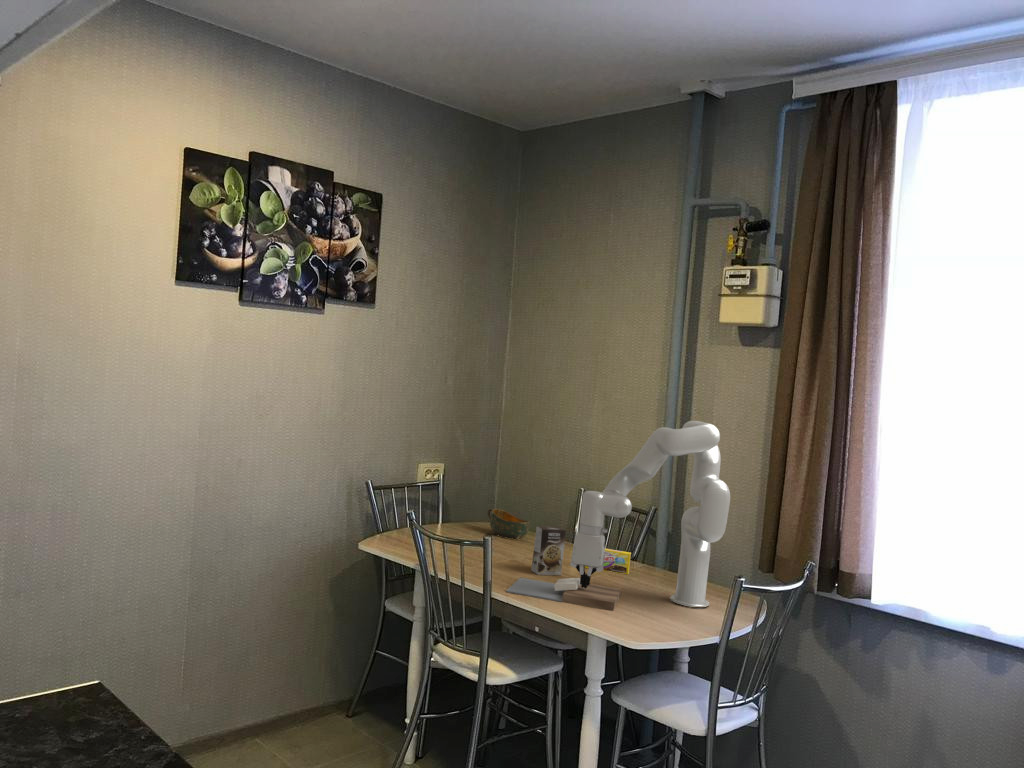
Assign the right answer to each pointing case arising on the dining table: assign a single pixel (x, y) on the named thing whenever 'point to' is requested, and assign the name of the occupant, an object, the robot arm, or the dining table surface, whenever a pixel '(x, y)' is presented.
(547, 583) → the mat
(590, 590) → the board
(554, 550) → the cookie box
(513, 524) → the green gourd bowl
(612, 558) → the candy box
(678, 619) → the dining table surface
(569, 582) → the tile
